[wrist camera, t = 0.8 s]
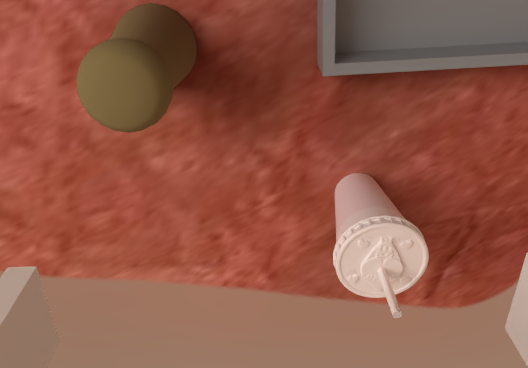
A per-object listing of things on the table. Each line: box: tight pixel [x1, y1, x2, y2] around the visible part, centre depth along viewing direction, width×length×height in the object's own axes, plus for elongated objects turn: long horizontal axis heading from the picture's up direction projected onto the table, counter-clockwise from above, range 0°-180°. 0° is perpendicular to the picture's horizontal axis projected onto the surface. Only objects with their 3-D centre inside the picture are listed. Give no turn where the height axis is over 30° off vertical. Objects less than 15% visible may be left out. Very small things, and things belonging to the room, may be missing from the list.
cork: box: [77, 3, 197, 132], centre depth 31 cm, size 6×6×11 cm
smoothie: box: [333, 173, 429, 318], centre depth 36 cm, size 6×6×14 cm
